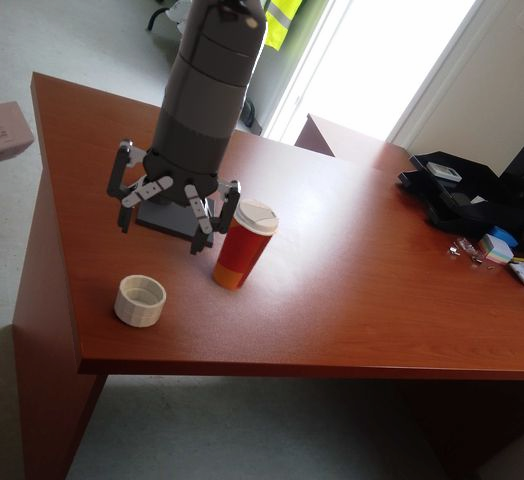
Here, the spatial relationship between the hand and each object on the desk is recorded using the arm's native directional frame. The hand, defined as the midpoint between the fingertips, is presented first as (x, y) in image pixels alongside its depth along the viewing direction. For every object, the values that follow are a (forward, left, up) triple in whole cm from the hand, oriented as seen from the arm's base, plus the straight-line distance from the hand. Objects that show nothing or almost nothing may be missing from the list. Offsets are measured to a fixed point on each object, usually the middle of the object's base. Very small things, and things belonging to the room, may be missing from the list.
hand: (159, 240), depth 57 cm
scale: (+4, +29, -13) cm, 32 cm away
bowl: (0, 0, -13) cm, 13 cm away
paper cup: (+14, +14, -14) cm, 24 cm away
